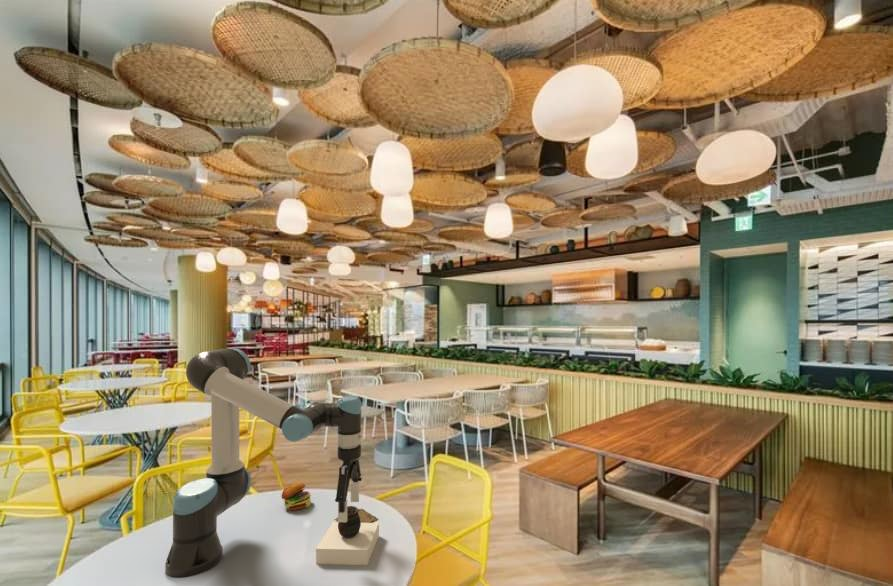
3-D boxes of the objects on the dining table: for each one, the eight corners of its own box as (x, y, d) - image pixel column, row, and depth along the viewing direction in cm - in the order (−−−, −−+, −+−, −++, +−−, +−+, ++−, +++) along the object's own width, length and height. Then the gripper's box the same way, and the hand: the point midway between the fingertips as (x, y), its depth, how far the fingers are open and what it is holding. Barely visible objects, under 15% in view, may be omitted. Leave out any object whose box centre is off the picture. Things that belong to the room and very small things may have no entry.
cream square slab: (316, 565, 126) (316, 548, 126) (333, 537, 142) (333, 522, 142) (367, 566, 125) (367, 549, 125) (378, 537, 141) (378, 523, 141)
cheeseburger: (303, 513, 158) (297, 487, 159) (279, 517, 160) (273, 491, 161) (316, 500, 168) (311, 476, 168) (294, 505, 170) (288, 481, 170)
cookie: (333, 520, 153) (333, 517, 153) (361, 509, 161) (361, 507, 161) (350, 532, 144) (350, 530, 144) (379, 520, 152) (379, 518, 152)
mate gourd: (355, 525, 139) (355, 496, 139) (364, 536, 133) (365, 505, 133) (334, 532, 135) (335, 502, 135) (343, 543, 129) (344, 512, 129)
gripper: (349, 458, 122) (349, 531, 121) (369, 434, 147) (369, 494, 146) (324, 458, 123) (324, 531, 122) (349, 433, 148) (348, 493, 147)
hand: (349, 511), depth 134 cm, fingers open, 13 cm apart
